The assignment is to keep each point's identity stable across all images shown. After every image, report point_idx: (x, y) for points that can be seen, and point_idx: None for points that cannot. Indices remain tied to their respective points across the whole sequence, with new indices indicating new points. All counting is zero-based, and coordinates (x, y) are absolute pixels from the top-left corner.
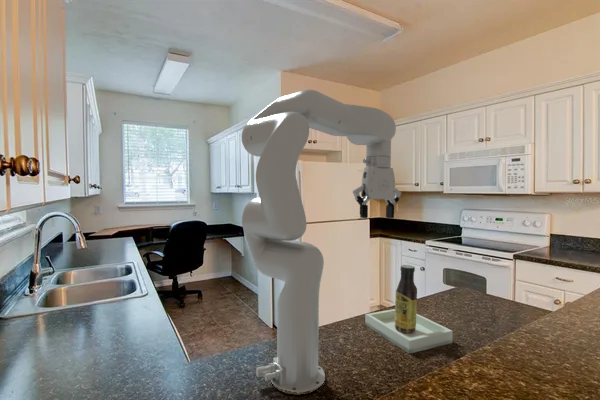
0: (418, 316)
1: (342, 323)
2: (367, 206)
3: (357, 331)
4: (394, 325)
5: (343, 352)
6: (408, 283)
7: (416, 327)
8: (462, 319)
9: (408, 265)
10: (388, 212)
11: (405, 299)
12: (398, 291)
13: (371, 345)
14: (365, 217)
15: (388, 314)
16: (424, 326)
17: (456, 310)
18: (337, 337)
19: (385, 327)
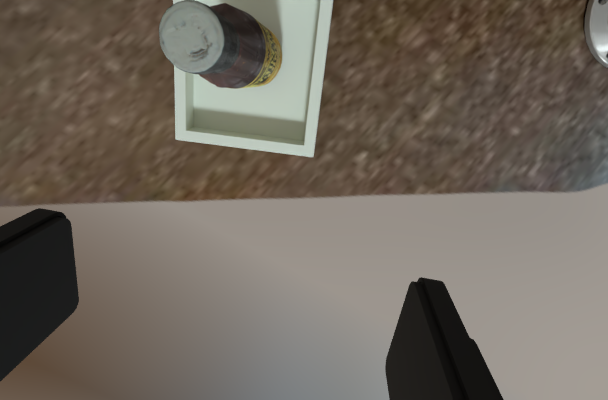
0: None
1: (360, 186)
2: (466, 395)
3: (360, 129)
4: (260, 94)
5: (472, 56)
6: (229, 20)
7: None
8: (38, 38)
9: (174, 49)
10: (29, 306)
11: (260, 24)
12: (263, 55)
13: (386, 49)
14: (439, 287)
15: (243, 135)
16: None
17: (6, 93)
18: (427, 128)
19: (324, 62)
